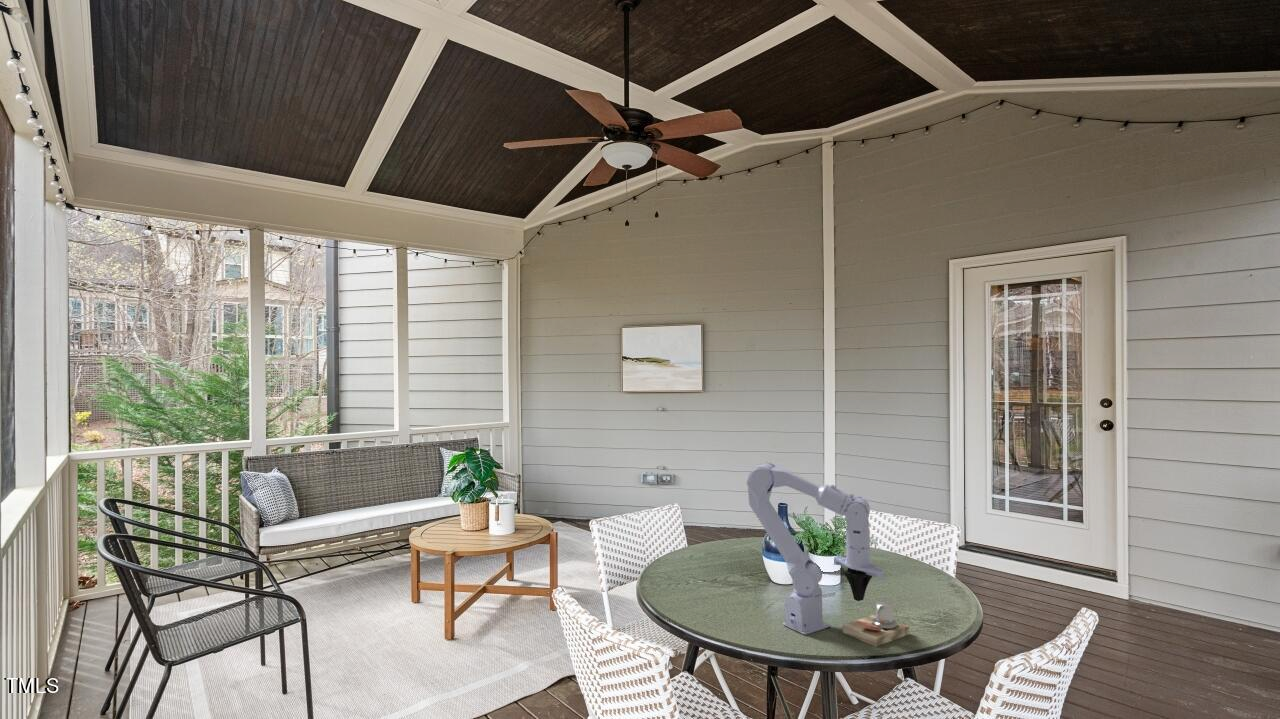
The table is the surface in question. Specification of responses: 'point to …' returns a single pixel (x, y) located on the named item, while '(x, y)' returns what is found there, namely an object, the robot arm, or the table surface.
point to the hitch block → (874, 632)
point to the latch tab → (868, 625)
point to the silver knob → (884, 616)
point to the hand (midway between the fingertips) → (858, 599)
